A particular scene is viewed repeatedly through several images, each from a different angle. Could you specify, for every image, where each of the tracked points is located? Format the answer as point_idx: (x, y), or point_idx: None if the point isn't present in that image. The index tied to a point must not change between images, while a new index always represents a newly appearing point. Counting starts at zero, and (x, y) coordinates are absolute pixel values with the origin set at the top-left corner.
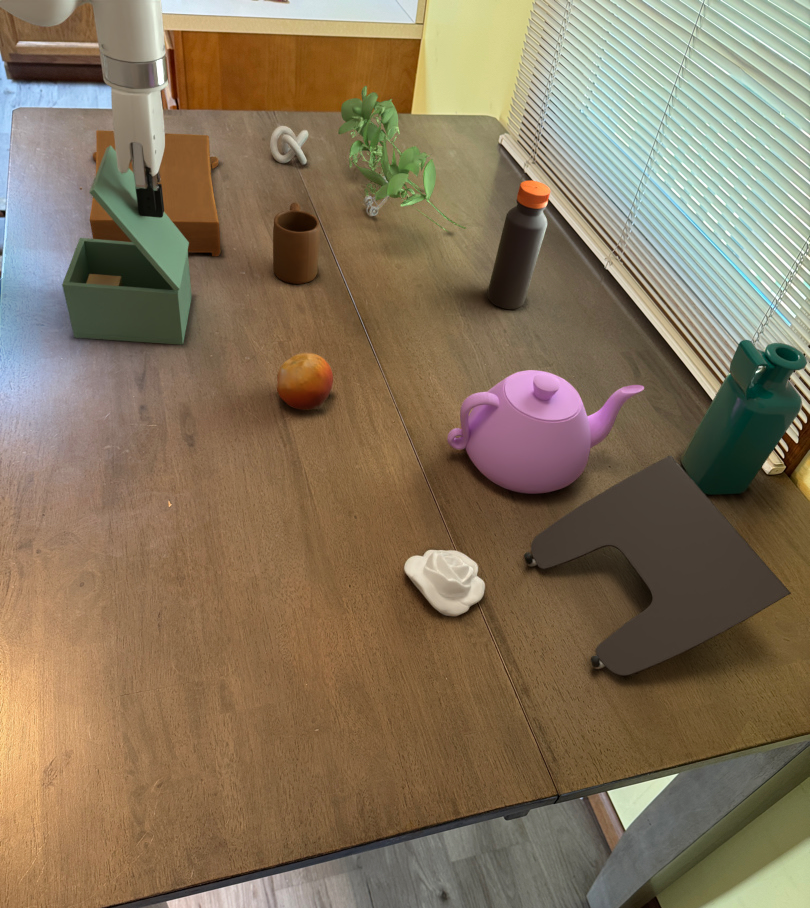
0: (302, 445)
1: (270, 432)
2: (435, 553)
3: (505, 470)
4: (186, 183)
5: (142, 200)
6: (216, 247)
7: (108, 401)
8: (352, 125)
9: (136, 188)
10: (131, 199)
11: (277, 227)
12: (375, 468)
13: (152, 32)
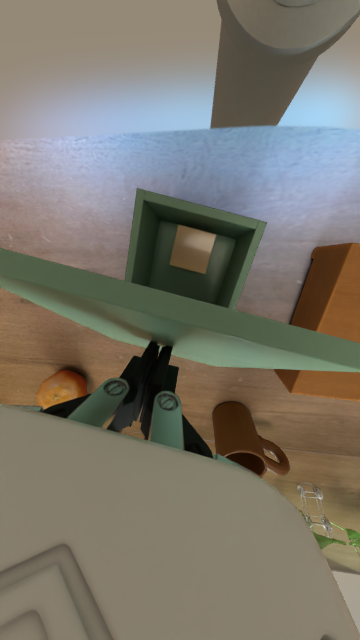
0: (31, 368)
1: (41, 353)
2: None
3: None
4: None
5: (125, 369)
6: (278, 371)
7: (64, 241)
8: None
9: (107, 380)
10: (165, 342)
11: (236, 449)
12: (18, 399)
13: None
